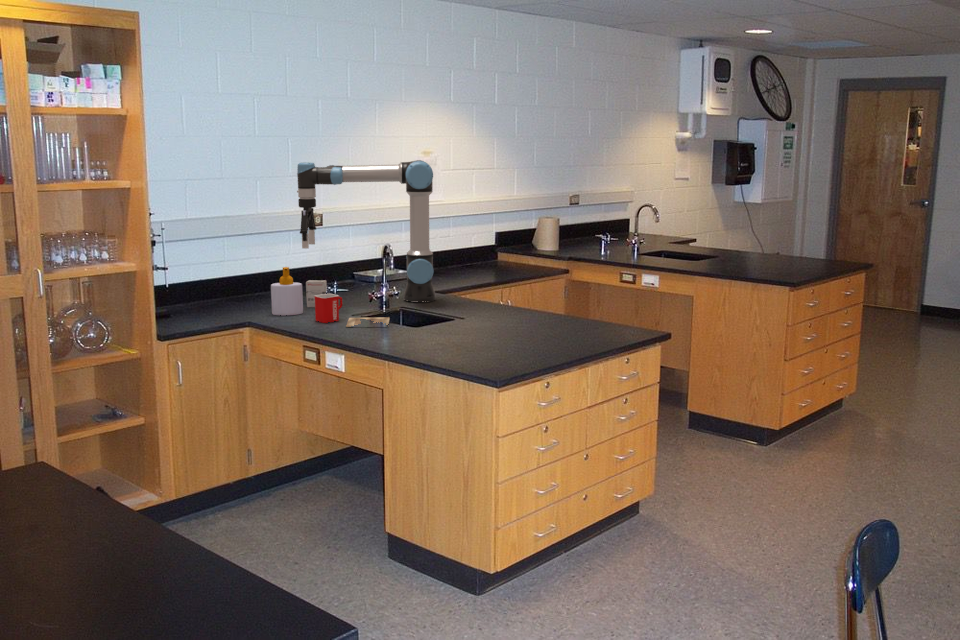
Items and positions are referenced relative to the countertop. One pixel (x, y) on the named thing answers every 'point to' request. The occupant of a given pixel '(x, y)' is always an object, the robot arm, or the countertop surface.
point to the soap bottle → (286, 296)
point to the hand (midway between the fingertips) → (308, 246)
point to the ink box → (315, 290)
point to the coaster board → (377, 319)
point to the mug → (327, 307)
